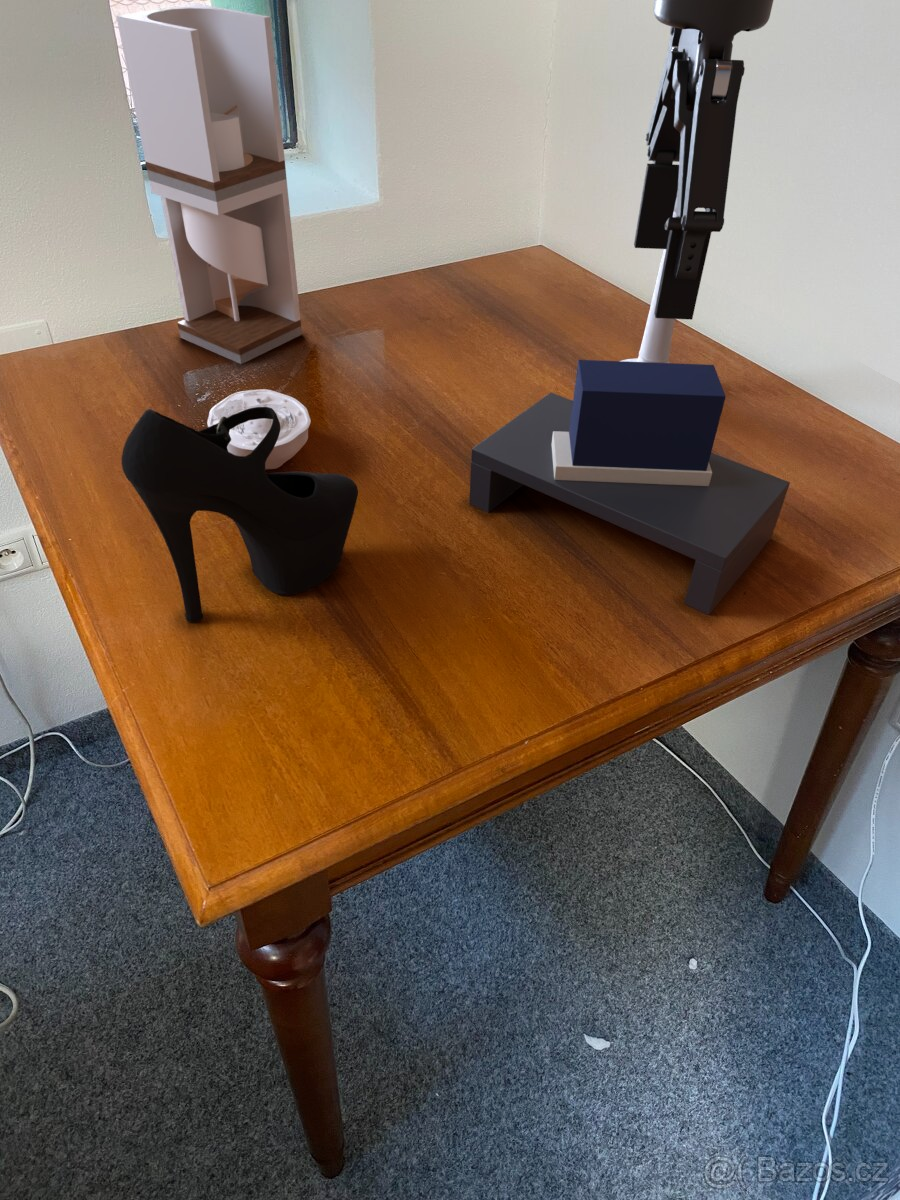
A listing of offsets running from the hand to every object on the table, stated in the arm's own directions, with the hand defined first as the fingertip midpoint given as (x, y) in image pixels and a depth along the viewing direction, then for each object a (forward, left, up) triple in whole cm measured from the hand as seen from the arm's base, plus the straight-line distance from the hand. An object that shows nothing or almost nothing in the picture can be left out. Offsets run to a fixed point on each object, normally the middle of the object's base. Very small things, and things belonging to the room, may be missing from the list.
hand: (660, 279), depth 70 cm
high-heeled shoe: (+20, +28, -24) cm, 42 cm away
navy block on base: (0, 0, -17) cm, 17 cm away
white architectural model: (+58, -4, -24) cm, 63 cm away
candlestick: (+10, -25, -24) cm, 36 cm away
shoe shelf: (0, 0, -24) cm, 24 cm away
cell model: (+35, +14, -24) cm, 45 cm away
